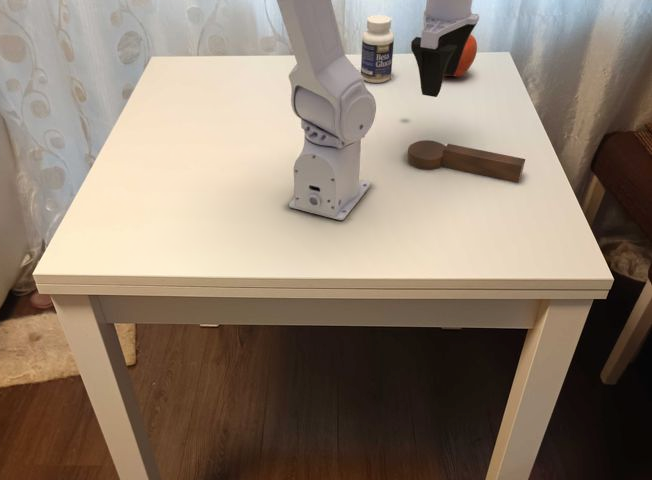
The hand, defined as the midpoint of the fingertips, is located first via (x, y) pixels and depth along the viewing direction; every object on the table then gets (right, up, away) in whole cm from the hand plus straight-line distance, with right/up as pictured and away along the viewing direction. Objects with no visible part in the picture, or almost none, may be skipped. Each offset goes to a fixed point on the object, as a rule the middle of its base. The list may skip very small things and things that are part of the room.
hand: (438, 84), depth 88 cm
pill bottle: (-6, +11, +25) cm, 28 cm away
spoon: (+4, -11, +2) cm, 12 cm away
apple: (+8, +12, +25) cm, 28 cm away
